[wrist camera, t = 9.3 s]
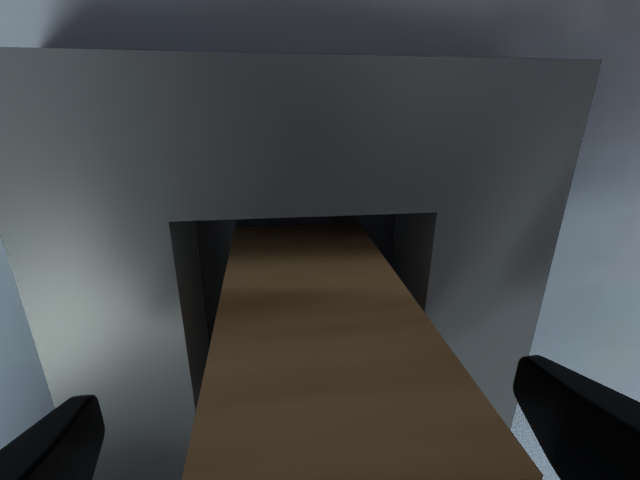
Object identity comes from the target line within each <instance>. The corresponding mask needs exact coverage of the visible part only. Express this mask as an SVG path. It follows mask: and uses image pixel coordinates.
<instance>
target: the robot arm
mask: <svg viewBox="0 0 640 480" xmlns="http://www.w3.org/2000/svg"><path fill="white" fill-rule="evenodd" d="M513 392H514V395H515V398H516V400H517V402H518V404H519V405H520V407H521V409H522V411H523V413H524V415H525V417H526V419H527V421H528V423H529V425H530V426H531V428H532V430H533V432H534V434H535V436H536V438H537V440H538V442H539V444H540V445H541V447H542V449H543V451H544V453H545V455H546V457H547V458H548V460H549V462H550V464H551V465H552V467H553V469H554V470H555V472H556V473H557V475H558V477H559V478H560V480H640V402H638V401H636V400H634V399H632V398H629V397H627V396H625V395H623V394H621V393H619V392H617V391H615V390H613V389H610V388H608V387H606V386H604V385H602V384H600V383H598V382H596V381H593V380H591V379H589V378H587V377H585V376H583V375H581V374H579V373H576V372H574V371H572V370H570V369H568V368H566V367H564V366H562V365H559V364H557V363H555V362H553V361H551V360H549V359H547V358H545V357H542V356H539V355H533V356H523V357H521V358H520V359H519V361H518V365H517V369H516V373H515V377H514V382H513ZM104 436H105V424H104V420H103V416H102V412H101V408H100V404H99V401H98V398H97V397H96V396H95V395H93V394H88V395H77V396H72V397H70V398H69V399H67V400H66V401H65V402H63V403H62V404H61V405H59V406H58V407H57V408H55V409H54V410H53V411H51V412H50V413H49V414H47V415H46V416H45V417H43V418H42V419H41V420H39V421H38V422H37V423H35V424H34V425H33V426H31V427H30V428H29V429H27V430H26V431H25V432H23V433H22V434H21V435H19V436H18V437H17V438H15V439H14V440H13V441H11V442H10V443H9V444H7V445H6V446H5V447H3V448H2V449H1V450H0V480H92V479H93V476H94V472H95V469H96V465H97V461H98V458H99V454H100V451H101V447H102V444H103V440H104Z"/></svg>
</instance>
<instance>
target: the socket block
mask: <svg viewBox="0 0 640 480" xmlns="http://www.w3.org/2000/svg"><path fill="white" fill-rule="evenodd" d="M601 61H602V60H590V59H542V58H495V57H447V56H400V55H352V54H305V53H257V52H210V51H163V50H115V49H68V48H20V47H0V234H1V237H2V240H3V243H4V247H5V250H6V253H7V256H8V259H9V263H10V266H11V269H12V272H13V275H14V279H15V282H16V285H17V288H18V291H19V295H20V298H21V301H22V304H23V307H24V311H25V314H26V317H27V320H28V324H29V327H30V330H31V333H32V336H33V340H34V343H35V346H36V349H37V352H38V356H39V359H40V362H41V365H42V368H43V372H44V375H45V378H46V381H47V384H48V388H49V391H50V394H51V397H52V401H53V404H54V407H55V408H57V407H58V406H59V405H61V404H62V403H63V402H65V401H66V400H67V399H69V398H70V397H72V396H77V395H88V394H93V395H95V396H96V397H97V398H98V401H99V404H100V408H101V412H102V416H103V420H104V424H105V436H104V440H103V444H102V447H101V451H100V454H99V458H98V461H97V465H96V469H95V472H94V476H93V479H92V480H182V475H183V470H184V466H185V461H186V456H187V451H188V447H189V442H190V437H191V432H192V428H193V423H194V418H195V413H196V409H197V404H198V399H199V394H200V390H201V385H202V380H203V375H204V371H205V366H206V361H207V357H208V352H209V338H208V329H207V321H206V312H205V303H204V295H203V286H202V277H201V269H200V260H199V251H198V243H197V234H196V225H195V221H206V220H235V219H264V218H292V217H321V216H350V215H379V214H396V215H395V228H394V240H393V252H392V264H391V267H392V269H393V270H394V271H395V273H396V274H397V275H398V277H399V278H400V280H401V281H402V282H403V284H404V285H405V286H406V288H407V289H408V291H409V292H410V293H411V295H412V296H413V297H414V299H415V300H416V301H417V303H418V304H419V306H420V307H421V308H422V310H423V311H424V312H425V314H426V315H427V317H428V318H429V319H430V321H431V322H432V323H433V325H434V326H435V328H436V329H437V330H438V332H439V333H440V334H441V336H442V337H443V339H444V340H445V341H446V343H447V344H448V345H449V347H450V348H451V350H452V351H453V352H454V354H455V355H456V356H457V358H458V359H459V361H460V362H461V363H462V365H463V366H464V367H465V369H466V370H467V372H468V373H469V374H470V376H471V377H472V378H473V380H474V381H475V382H476V384H477V385H478V387H479V388H480V389H481V391H482V392H483V393H484V395H485V396H486V398H487V399H488V400H489V402H490V403H491V404H492V406H493V407H494V409H495V410H496V411H497V413H498V414H499V415H500V417H501V418H502V420H503V421H504V422H505V424H506V425H507V426H508V428H509V429H511V425H512V421H513V417H514V413H515V409H516V405H517V400H516V398H515V395H514V392H513V382H514V377H515V373H516V369H517V365H518V361H519V359H520V358H521V357H523V356H529V352H530V348H531V344H532V340H533V336H534V332H535V328H536V324H537V320H538V316H539V312H540V308H541V304H542V300H543V296H544V292H545V287H546V283H547V279H548V275H549V271H550V267H551V263H552V259H553V255H554V251H555V247H556V243H557V239H558V235H559V231H560V227H561V223H562V219H563V215H564V211H565V206H566V202H567V198H568V194H569V190H570V186H571V182H572V178H573V174H574V170H575V166H576V162H577V158H578V154H579V150H580V146H581V142H582V138H583V134H584V130H585V125H586V121H587V117H588V113H589V109H590V105H591V101H592V97H593V93H594V89H595V85H596V81H597V77H598V73H599V69H600V65H601Z"/></svg>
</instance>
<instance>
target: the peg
mask: <svg viewBox="0 0 640 480" xmlns="http://www.w3.org/2000/svg"><path fill="white" fill-rule="evenodd" d="M542 477H543V474H542V473H541V472H540V470H539V469H538V468H537V466H536V465H535V463H534V462H533V461H532V459H531V458H530V457H529V455H528V454H527V453H526V451H525V450H524V448H523V447H522V446H521V444H520V443H519V442H518V440H517V439H516V437H515V436H514V435H513V433H512V432H511V431H510V429H509V428H508V426H507V425H506V424H505V422H504V421H503V420H502V418H501V417H500V415H499V414H498V413H497V411H496V410H495V409H494V407H493V406H492V404H491V403H490V402H489V400H488V399H487V398H486V396H485V395H484V393H483V392H482V391H481V389H480V388H479V387H478V385H477V384H476V382H475V381H474V380H473V378H472V377H471V376H470V374H469V373H468V372H467V370H466V369H465V367H464V366H463V365H462V363H461V362H460V361H459V359H458V358H457V356H456V355H455V354H454V352H453V351H452V350H451V348H450V347H449V345H448V344H447V343H446V341H445V340H444V339H443V337H442V336H441V334H440V333H439V332H438V330H437V329H436V328H435V326H434V325H433V323H432V322H431V321H430V319H429V318H428V317H427V315H426V314H425V312H424V311H423V310H422V308H421V307H420V306H419V304H418V303H417V301H416V300H415V299H414V297H413V296H412V295H411V293H410V292H409V291H408V289H407V288H406V286H405V285H404V284H403V282H402V281H401V280H400V278H399V277H398V275H397V274H396V273H395V271H394V270H393V269H392V267H391V266H390V264H389V263H388V262H387V260H386V259H385V258H384V256H383V255H382V253H381V252H380V251H379V249H378V248H377V247H376V245H375V244H374V242H373V241H372V240H371V238H370V237H369V236H368V234H367V233H366V231H365V230H364V229H363V227H362V226H361V225H360V223H359V222H350V223H328V224H306V225H284V226H262V227H240V228H234V233H233V238H232V243H231V247H230V252H229V257H228V262H227V266H226V271H225V276H224V281H223V285H222V290H221V295H220V300H219V304H218V309H217V314H216V319H215V323H214V328H213V333H212V338H211V342H210V347H209V352H208V357H207V361H206V366H205V371H204V375H203V380H202V385H201V390H200V394H199V399H198V404H197V409H196V413H195V418H194V423H193V428H192V432H191V437H190V442H189V447H188V451H187V456H186V461H185V466H184V470H183V475H182V480H542Z"/></svg>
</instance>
